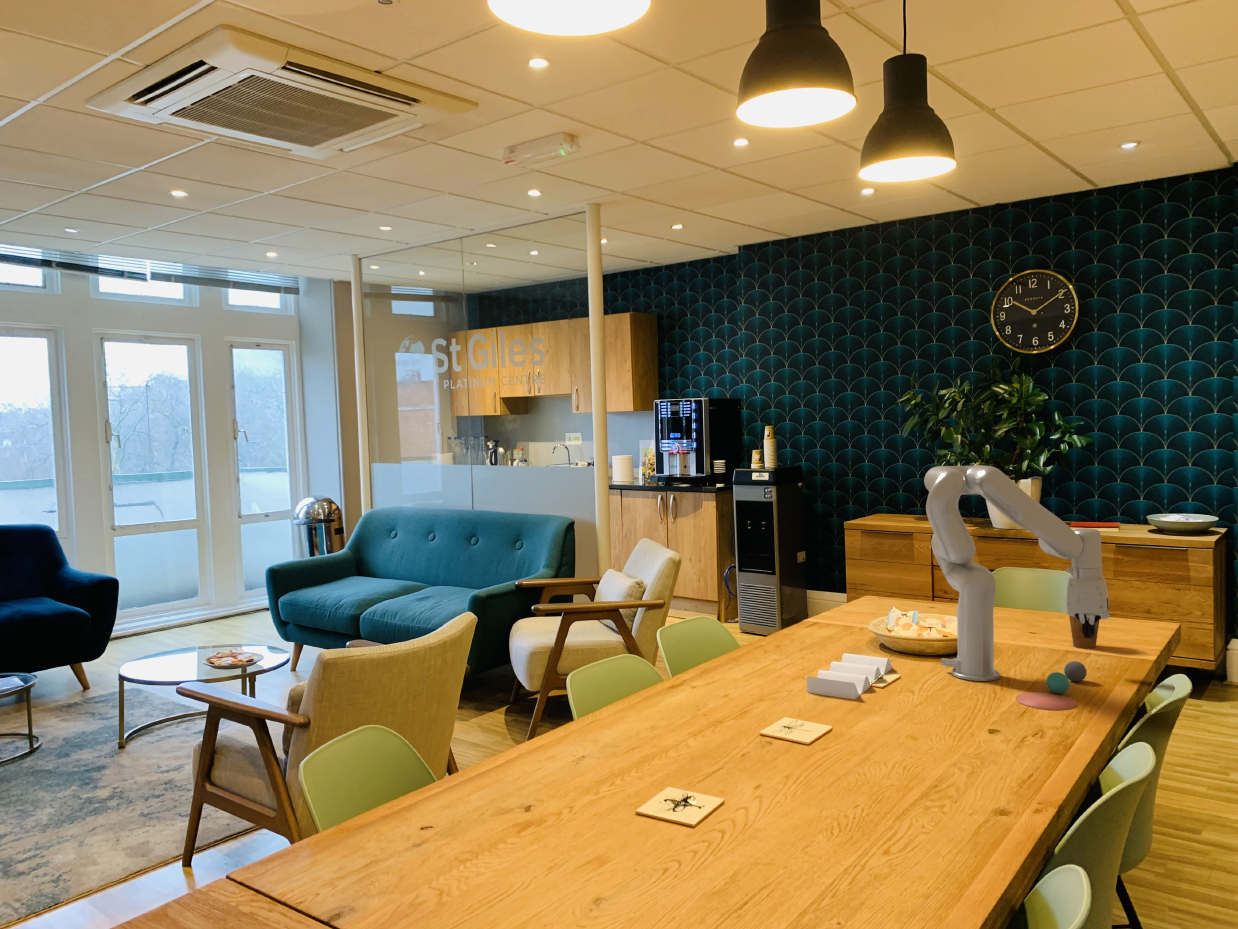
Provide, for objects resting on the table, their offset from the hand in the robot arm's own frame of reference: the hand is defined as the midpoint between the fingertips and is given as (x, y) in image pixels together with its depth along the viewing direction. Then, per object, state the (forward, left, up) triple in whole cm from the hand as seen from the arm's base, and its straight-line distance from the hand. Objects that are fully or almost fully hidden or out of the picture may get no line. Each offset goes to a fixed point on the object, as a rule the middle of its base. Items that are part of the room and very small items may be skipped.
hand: (1089, 637), depth 250 cm
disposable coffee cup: (+1, +33, -11) cm, 35 cm away
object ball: (-9, -22, -8) cm, 25 cm away
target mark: (-12, -31, -10) cm, 35 cm away
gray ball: (-4, -9, -8) cm, 13 cm away
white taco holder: (-61, -27, -11) cm, 68 cm away
